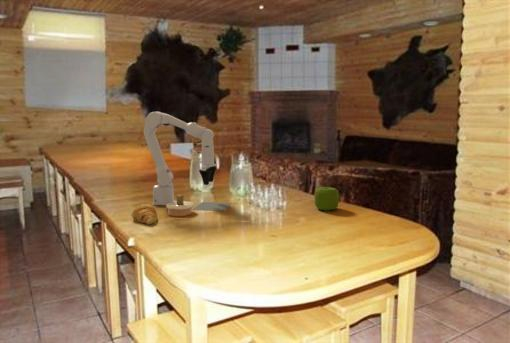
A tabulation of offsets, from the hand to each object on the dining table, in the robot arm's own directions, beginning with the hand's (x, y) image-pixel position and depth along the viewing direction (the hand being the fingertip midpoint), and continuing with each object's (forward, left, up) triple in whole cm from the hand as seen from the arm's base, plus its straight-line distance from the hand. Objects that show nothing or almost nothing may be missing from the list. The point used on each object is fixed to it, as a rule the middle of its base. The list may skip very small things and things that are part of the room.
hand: (208, 183), depth 213 cm
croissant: (-19, -32, -10) cm, 38 cm away
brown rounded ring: (-7, -21, -10) cm, 24 cm away
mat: (+4, -7, -10) cm, 13 cm away
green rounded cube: (+56, -2, -10) cm, 57 cm away
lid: (-7, -21, -6) cm, 23 cm away
